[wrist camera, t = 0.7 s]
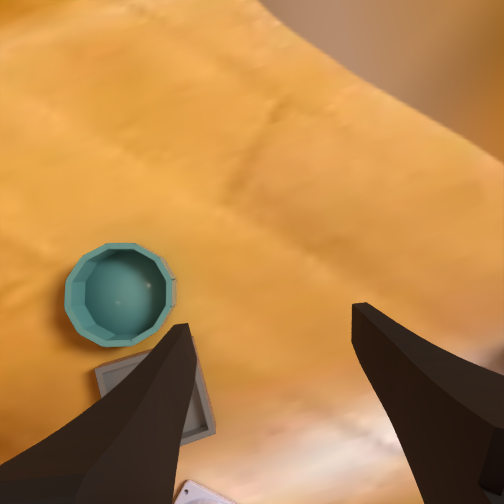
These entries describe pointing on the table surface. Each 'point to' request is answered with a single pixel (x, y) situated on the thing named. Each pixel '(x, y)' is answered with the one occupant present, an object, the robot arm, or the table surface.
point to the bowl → (120, 294)
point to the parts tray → (199, 409)
